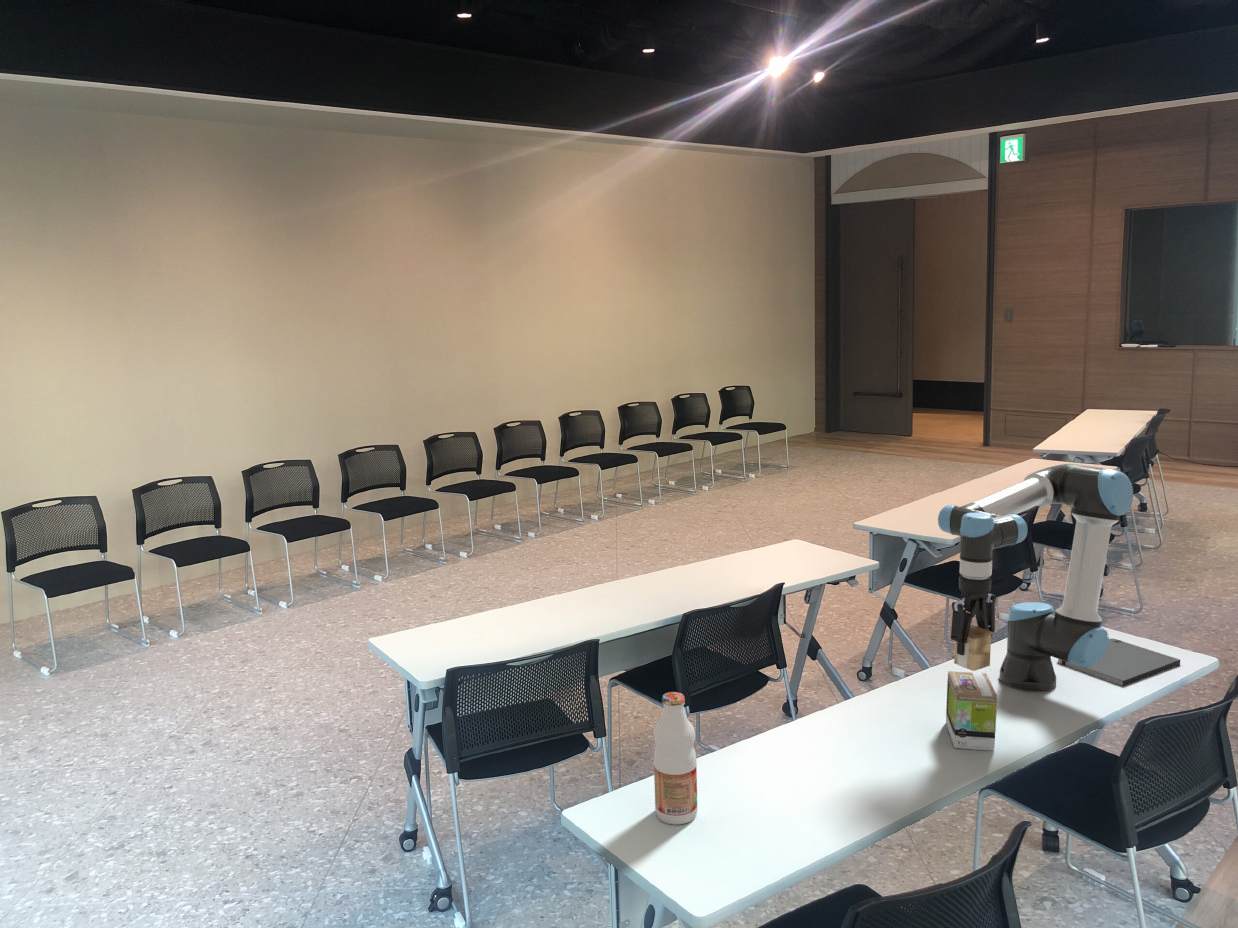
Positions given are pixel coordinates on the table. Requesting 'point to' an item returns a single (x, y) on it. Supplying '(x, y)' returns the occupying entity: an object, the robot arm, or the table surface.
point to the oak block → (977, 648)
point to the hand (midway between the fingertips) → (971, 663)
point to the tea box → (971, 710)
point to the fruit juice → (675, 763)
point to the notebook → (1127, 663)
